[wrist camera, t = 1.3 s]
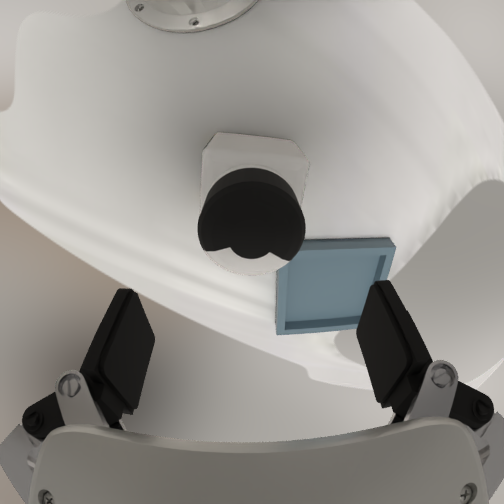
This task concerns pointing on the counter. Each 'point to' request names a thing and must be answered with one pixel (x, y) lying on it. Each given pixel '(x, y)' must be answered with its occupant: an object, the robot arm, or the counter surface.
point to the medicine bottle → (252, 202)
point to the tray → (329, 283)
